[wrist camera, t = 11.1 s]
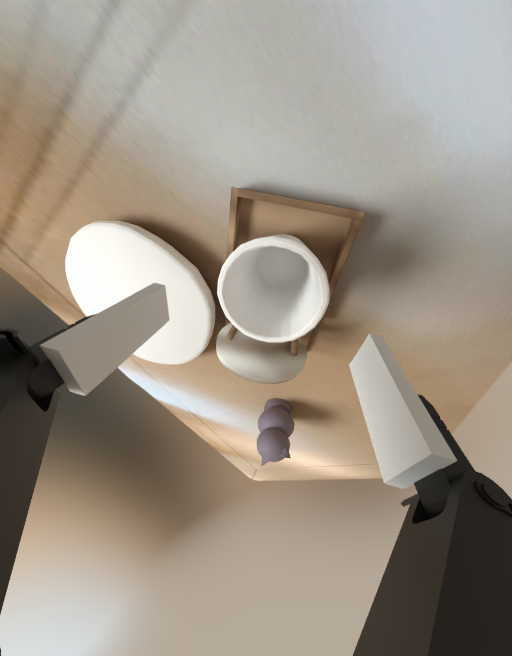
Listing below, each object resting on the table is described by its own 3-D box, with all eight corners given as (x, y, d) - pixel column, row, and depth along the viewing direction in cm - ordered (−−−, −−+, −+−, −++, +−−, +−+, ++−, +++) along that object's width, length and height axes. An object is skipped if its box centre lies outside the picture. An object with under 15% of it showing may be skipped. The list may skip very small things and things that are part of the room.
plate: (87, 346, 41) (23, 202, 27) (114, 331, 47) (73, 204, 32) (201, 391, 37) (201, 248, 22) (217, 369, 42) (225, 241, 27)
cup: (272, 206, 24) (248, 207, 13) (334, 251, 25) (358, 283, 14) (237, 272, 29) (201, 310, 19) (290, 306, 30) (284, 359, 20)
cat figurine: (279, 390, 44) (272, 445, 34) (302, 409, 46) (302, 465, 36) (254, 403, 48) (242, 454, 38) (276, 420, 50) (270, 472, 40)
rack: (238, 188, 24) (181, 172, 13) (359, 211, 23) (417, 217, 12) (226, 331, 37) (192, 388, 26) (303, 350, 36) (304, 420, 24)
